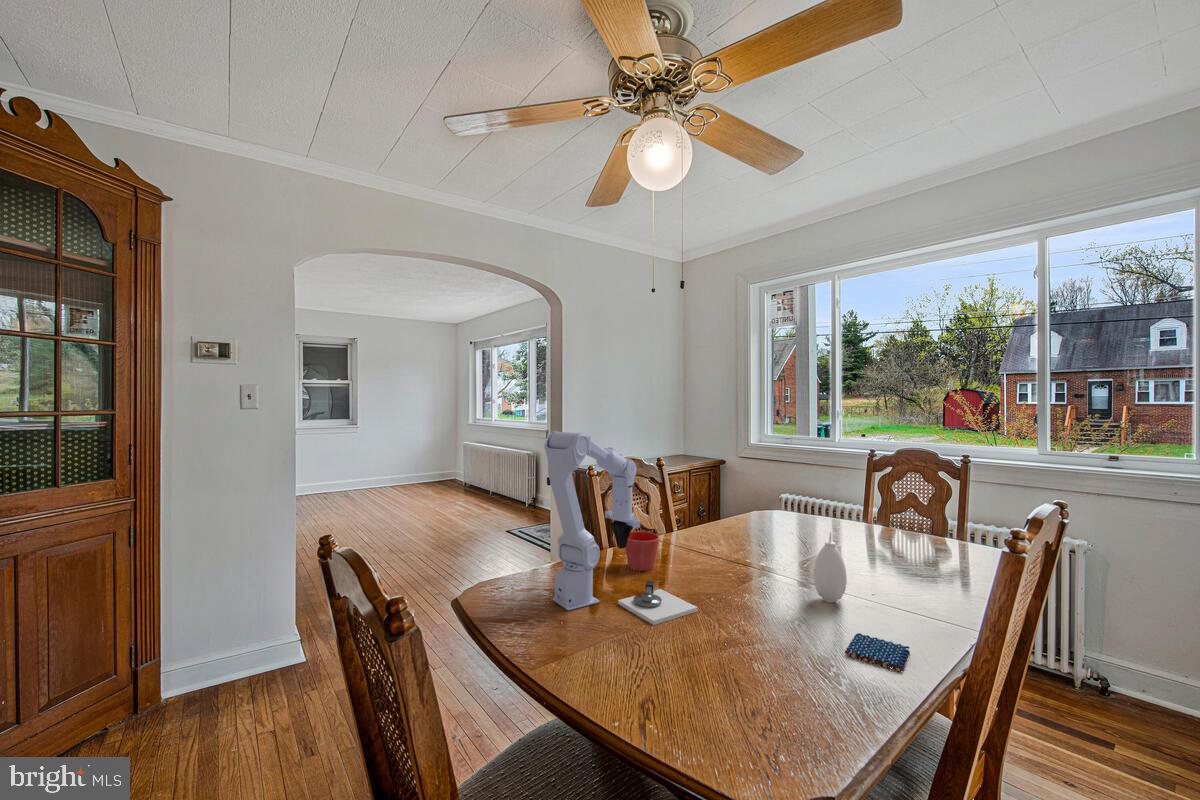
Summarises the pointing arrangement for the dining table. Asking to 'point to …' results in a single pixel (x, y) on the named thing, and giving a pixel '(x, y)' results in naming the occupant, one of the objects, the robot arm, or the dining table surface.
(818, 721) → the dining table surface
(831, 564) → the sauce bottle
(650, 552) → the flower pot
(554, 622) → the dining table surface
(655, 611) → the stand plate
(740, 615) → the dining table surface
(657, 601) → the crank handle
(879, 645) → the woven mat
